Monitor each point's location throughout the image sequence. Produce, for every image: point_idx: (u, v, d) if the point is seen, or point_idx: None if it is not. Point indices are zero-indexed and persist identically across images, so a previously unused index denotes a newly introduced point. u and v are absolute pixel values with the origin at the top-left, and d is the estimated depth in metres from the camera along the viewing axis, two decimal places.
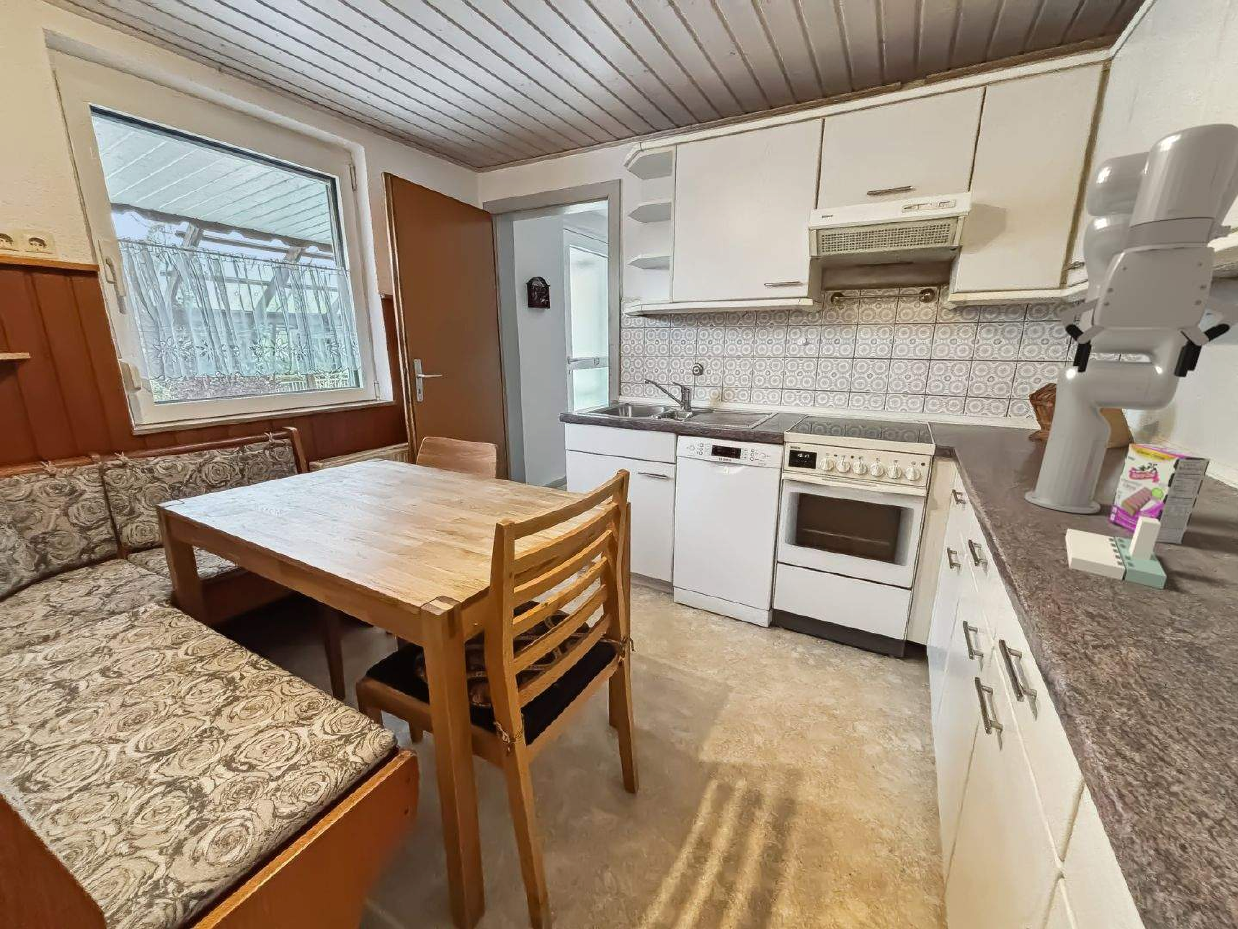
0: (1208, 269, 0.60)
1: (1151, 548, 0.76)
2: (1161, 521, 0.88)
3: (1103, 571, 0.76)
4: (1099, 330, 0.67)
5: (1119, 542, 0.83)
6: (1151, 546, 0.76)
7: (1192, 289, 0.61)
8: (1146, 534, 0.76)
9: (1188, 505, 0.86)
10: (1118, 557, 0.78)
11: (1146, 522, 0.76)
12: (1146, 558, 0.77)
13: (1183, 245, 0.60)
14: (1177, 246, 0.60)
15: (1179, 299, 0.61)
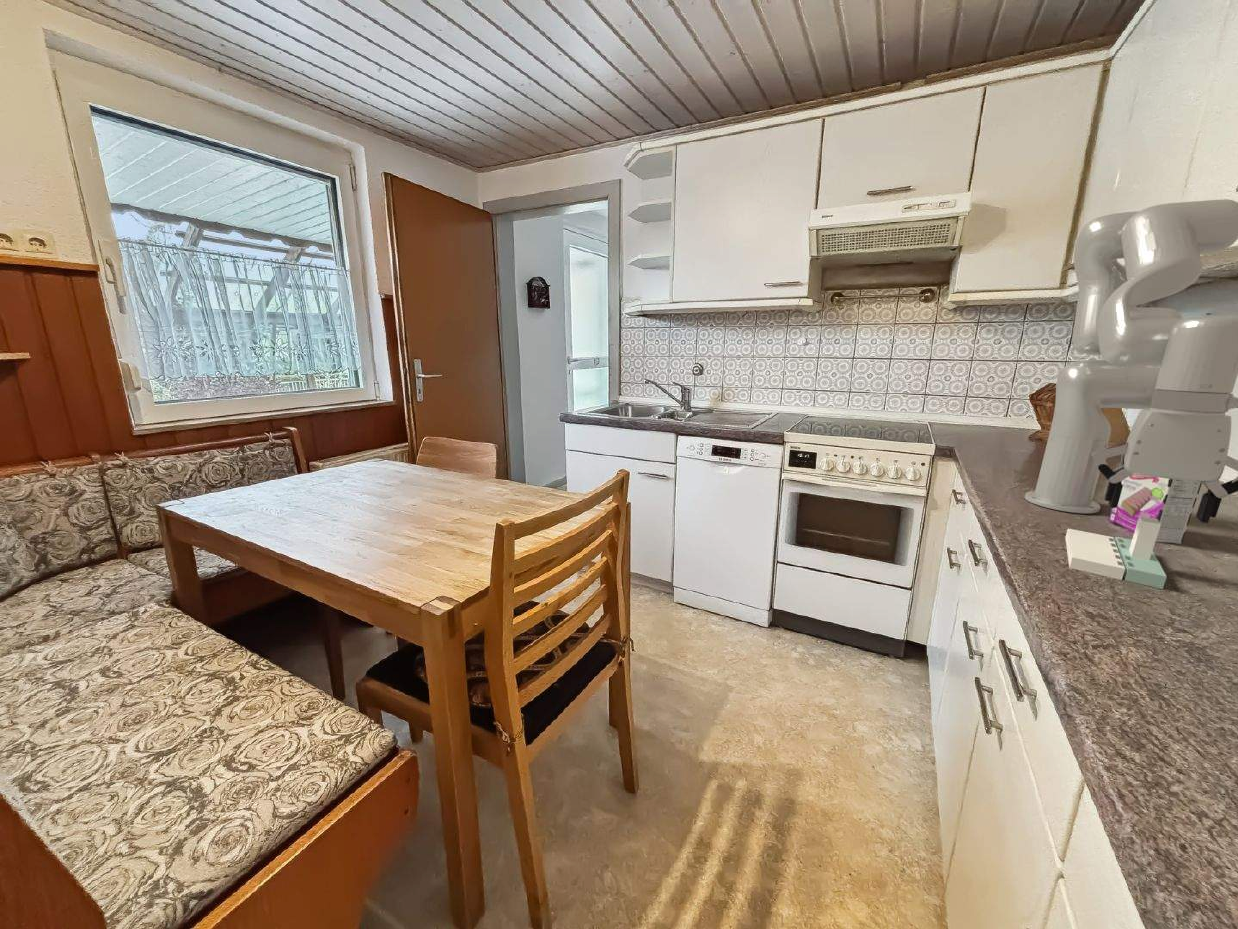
0: (1226, 435, 0.69)
1: (1151, 548, 0.76)
2: (1161, 521, 0.88)
3: (1103, 571, 0.76)
4: (1129, 474, 0.76)
5: (1119, 542, 0.83)
6: (1151, 546, 0.76)
7: (1212, 451, 0.70)
8: (1146, 534, 0.76)
9: (1188, 505, 0.86)
10: (1118, 557, 0.78)
11: (1146, 522, 0.76)
12: (1146, 558, 0.77)
13: (1204, 414, 0.69)
14: (1199, 415, 0.69)
15: (1201, 458, 0.70)
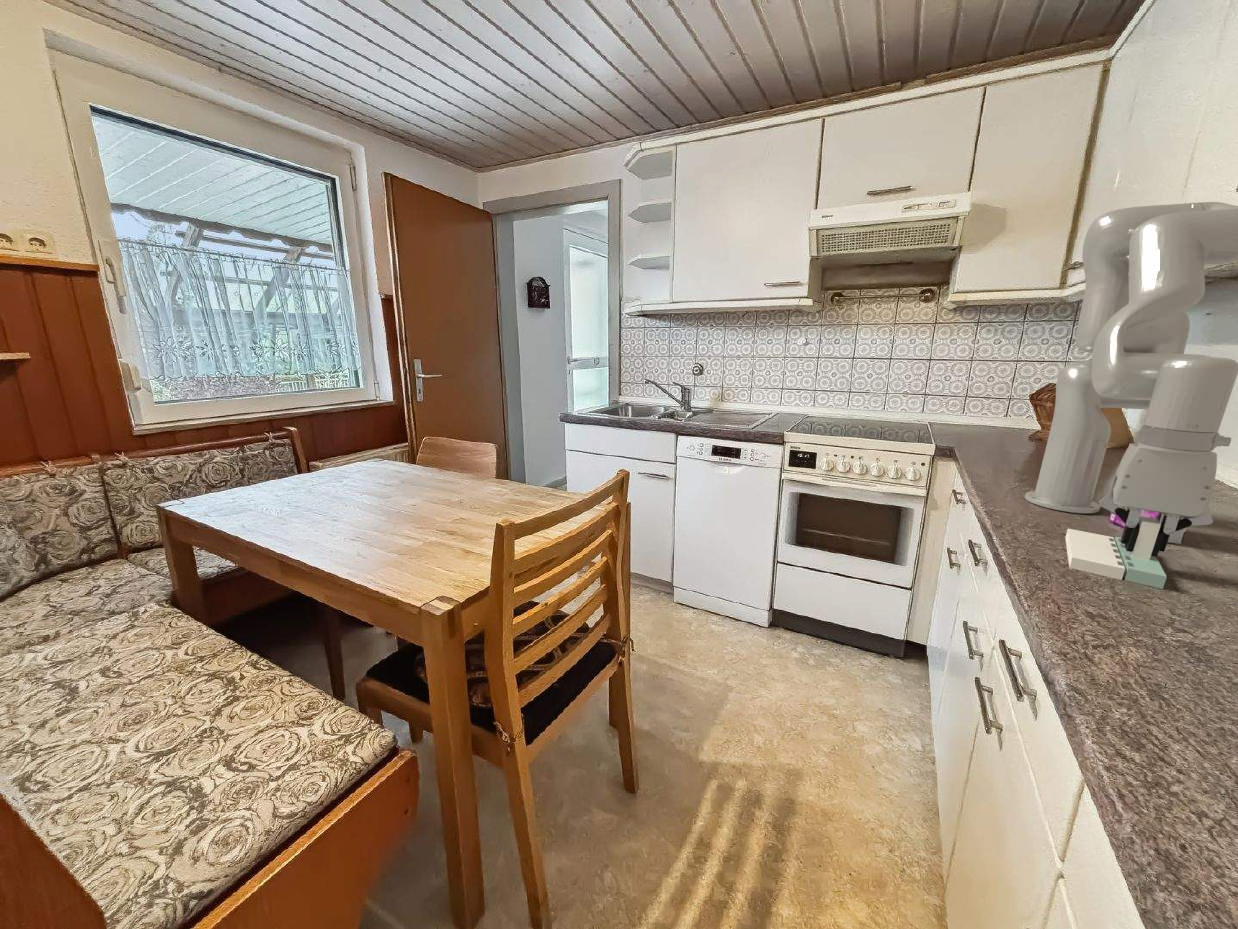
0: (1212, 473, 0.70)
1: (1151, 548, 0.76)
2: None
3: (1103, 571, 0.76)
4: (1137, 513, 0.77)
5: (1119, 542, 0.83)
6: (1151, 546, 0.76)
7: (1198, 487, 0.71)
8: (1146, 534, 0.76)
9: None
10: (1118, 557, 0.78)
11: (1146, 522, 0.76)
12: (1146, 558, 0.77)
13: (1191, 453, 0.70)
14: (1185, 453, 0.71)
15: (1187, 494, 0.72)
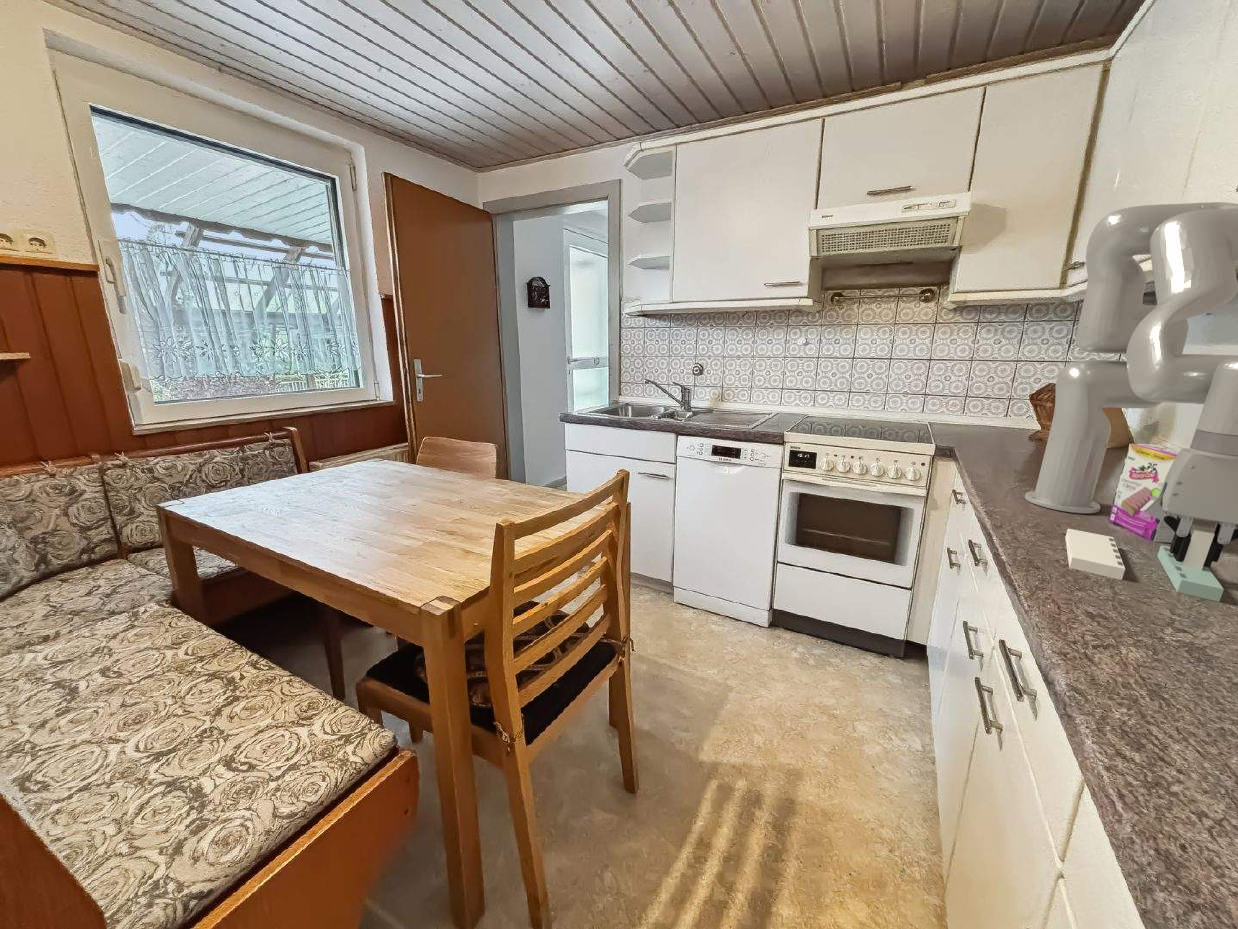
0: None
1: (1203, 558, 0.73)
2: (1161, 521, 0.88)
3: (1103, 571, 0.76)
4: (1189, 522, 0.73)
5: (1166, 551, 0.80)
6: (1203, 556, 0.73)
7: None
8: (1198, 544, 0.73)
9: None
10: (1118, 557, 0.78)
11: (1198, 531, 0.73)
12: (1198, 569, 0.73)
13: None
14: None
15: None
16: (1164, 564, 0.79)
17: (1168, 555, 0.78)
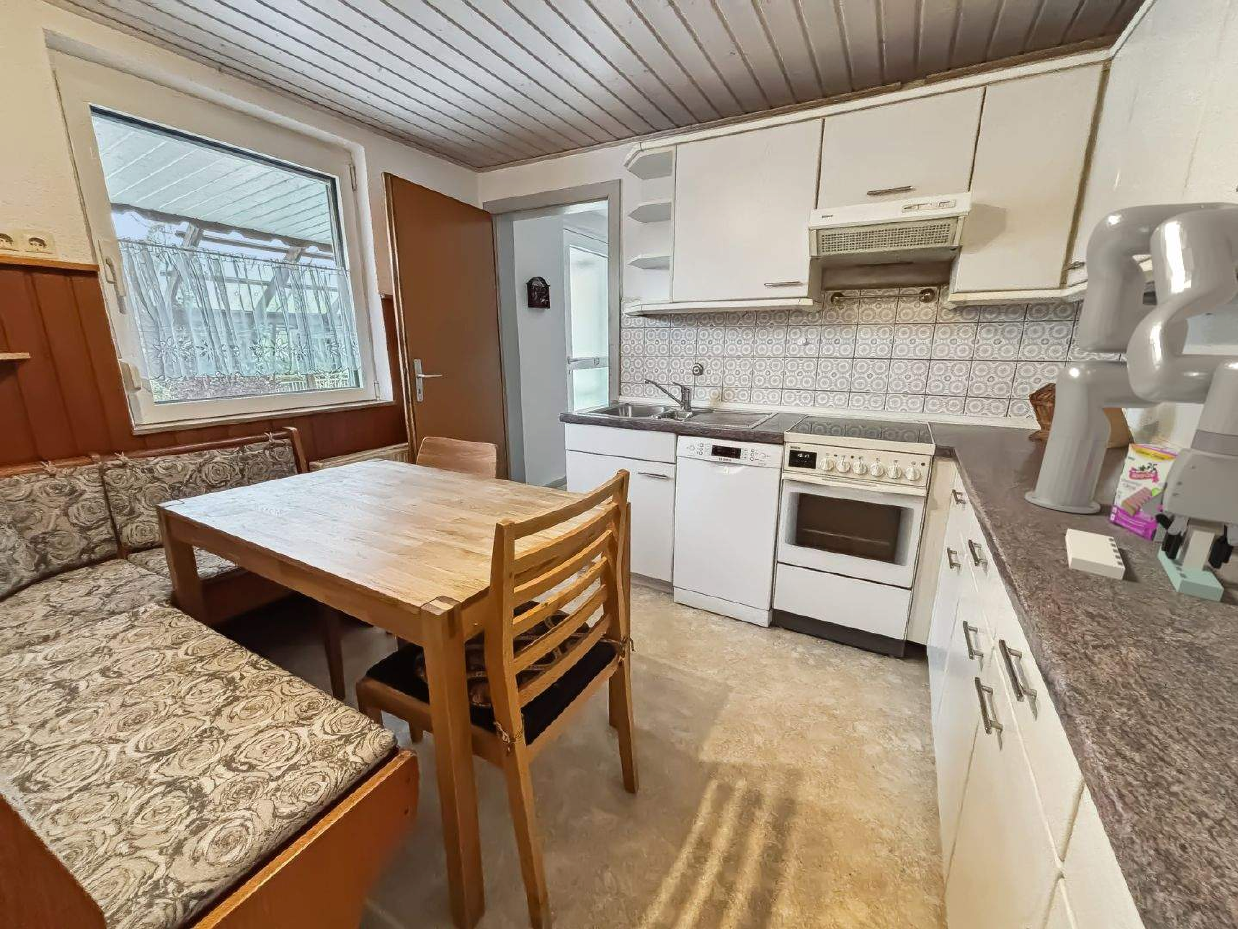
0: None
1: (1204, 558, 0.73)
2: None
3: (1103, 571, 0.76)
4: (1183, 521, 0.74)
5: None
6: (1204, 556, 0.73)
7: None
8: (1198, 544, 0.73)
9: None
10: (1118, 557, 0.78)
11: (1198, 531, 0.73)
12: (1198, 569, 0.73)
13: None
14: None
15: None
16: (1164, 564, 0.79)
17: None
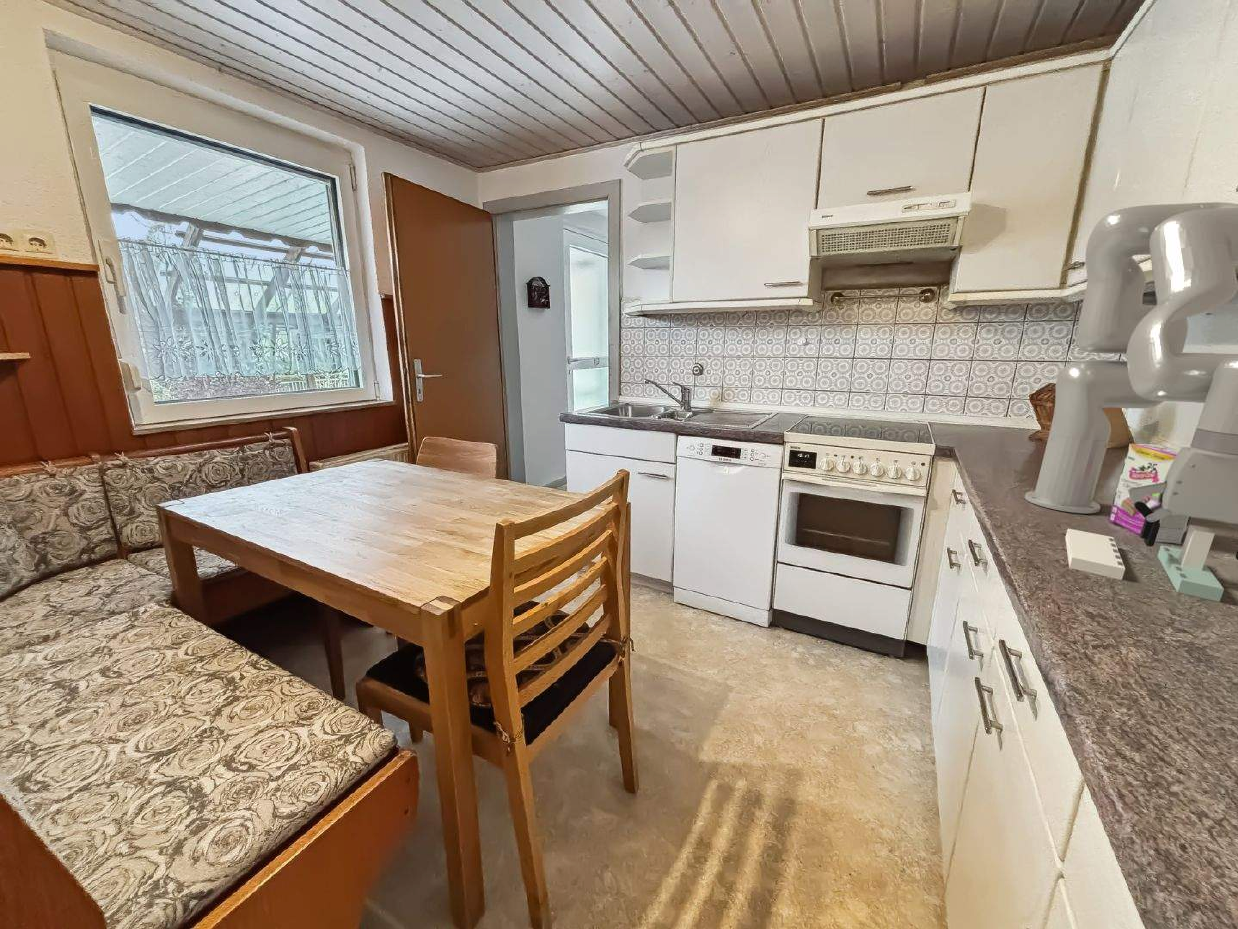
0: None
1: (1204, 558, 0.73)
2: (1161, 521, 0.88)
3: (1103, 571, 0.76)
4: (1167, 513, 0.75)
5: (1166, 551, 0.80)
6: (1204, 556, 0.73)
7: None
8: (1198, 544, 0.73)
9: None
10: (1118, 557, 0.78)
11: (1198, 531, 0.73)
12: (1198, 569, 0.73)
13: None
14: None
15: None
16: (1164, 564, 0.79)
17: (1168, 555, 0.78)
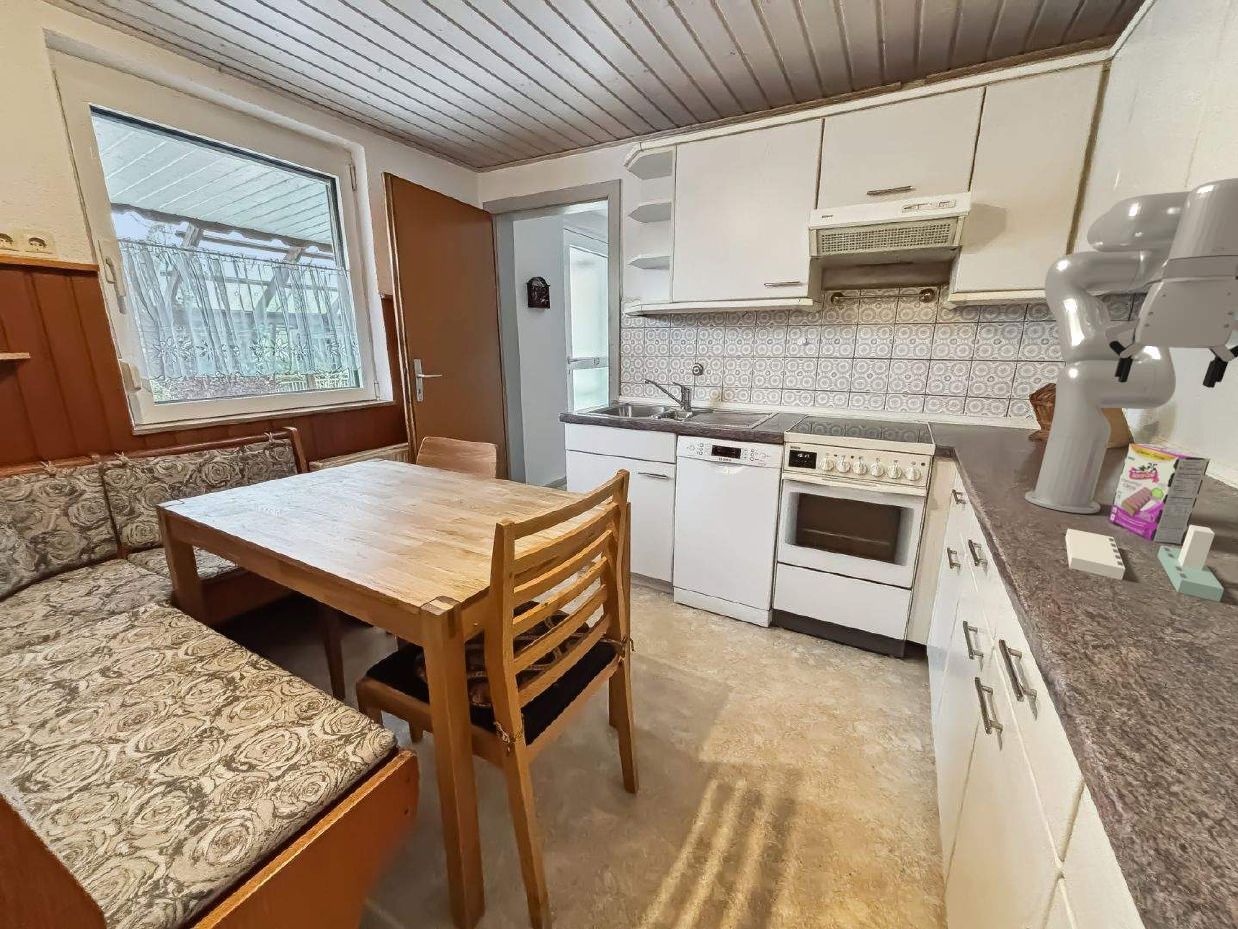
0: (1236, 298, 0.71)
1: (1204, 558, 0.73)
2: (1161, 521, 0.88)
3: (1103, 571, 0.76)
4: (1139, 347, 0.79)
5: (1166, 551, 0.80)
6: (1204, 556, 0.73)
7: (1222, 314, 0.72)
8: (1198, 544, 0.73)
9: (1188, 505, 0.86)
10: (1118, 557, 0.78)
11: (1198, 531, 0.73)
12: (1198, 569, 0.73)
13: (1215, 278, 0.71)
14: (1210, 279, 0.71)
15: (1210, 323, 0.73)
16: (1164, 564, 0.79)
17: (1168, 555, 0.78)
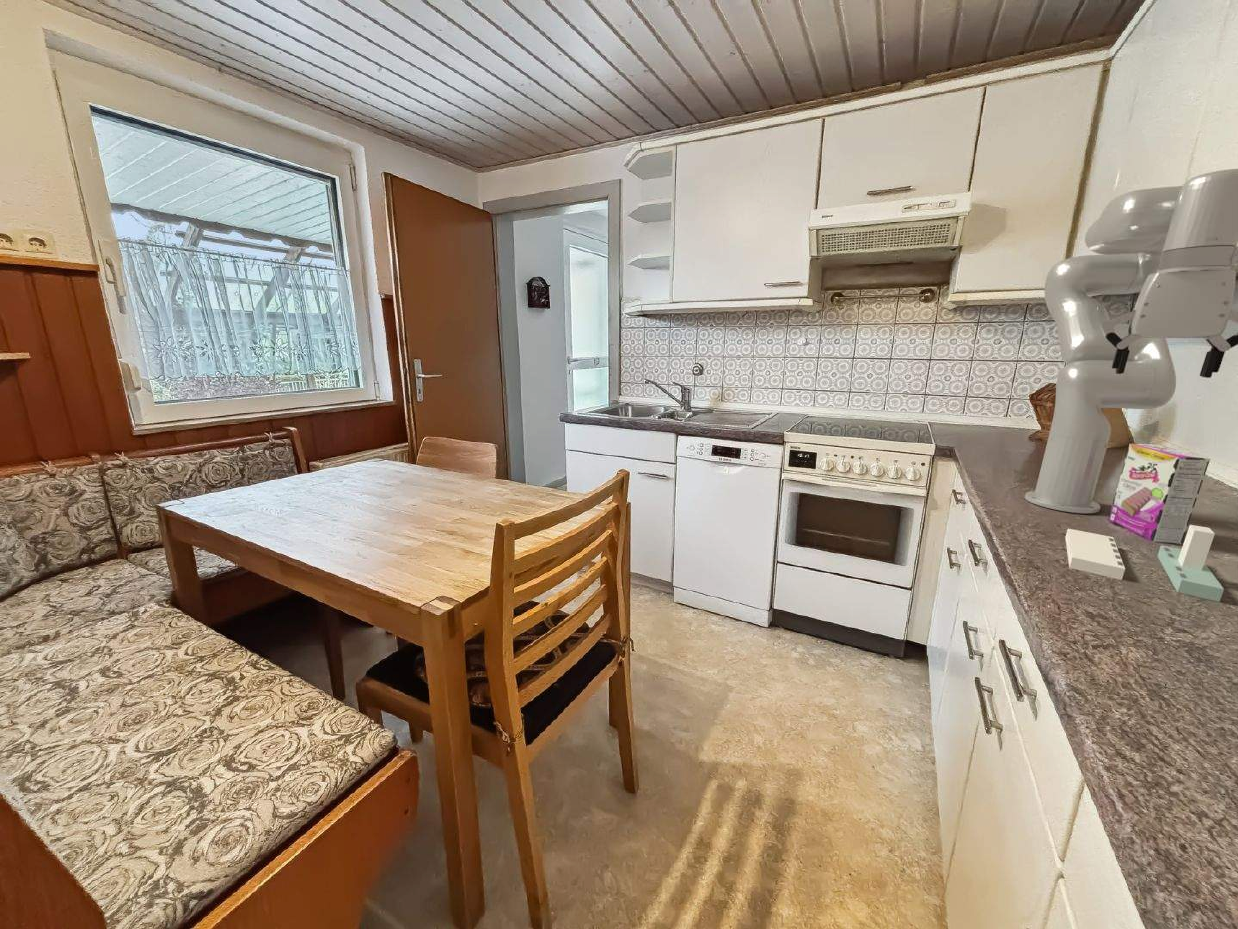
0: (1230, 288, 0.72)
1: (1204, 558, 0.73)
2: (1161, 521, 0.88)
3: (1103, 571, 0.76)
4: (1136, 338, 0.79)
5: (1166, 551, 0.80)
6: (1204, 556, 0.73)
7: (1217, 304, 0.73)
8: (1198, 544, 0.73)
9: (1188, 505, 0.86)
10: (1118, 557, 0.78)
11: (1198, 531, 0.73)
12: (1198, 569, 0.73)
13: (1210, 268, 0.72)
14: (1204, 269, 0.72)
15: (1206, 312, 0.74)
16: (1164, 564, 0.79)
17: (1168, 555, 0.78)
